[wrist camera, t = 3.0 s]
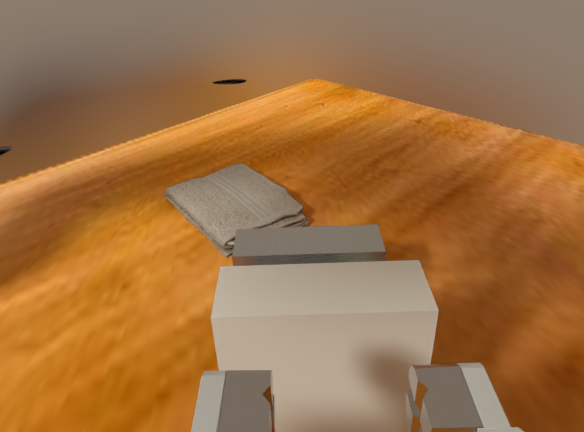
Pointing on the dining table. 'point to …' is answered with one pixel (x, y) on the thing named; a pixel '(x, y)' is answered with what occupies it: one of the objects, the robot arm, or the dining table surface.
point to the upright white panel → (328, 338)
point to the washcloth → (234, 204)
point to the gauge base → (308, 245)
